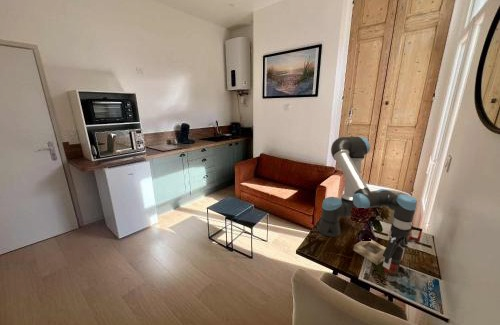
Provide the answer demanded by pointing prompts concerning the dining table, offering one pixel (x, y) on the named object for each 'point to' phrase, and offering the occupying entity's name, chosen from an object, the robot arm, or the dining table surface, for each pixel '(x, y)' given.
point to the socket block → (370, 251)
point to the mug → (410, 234)
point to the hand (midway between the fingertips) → (392, 262)
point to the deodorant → (394, 262)
